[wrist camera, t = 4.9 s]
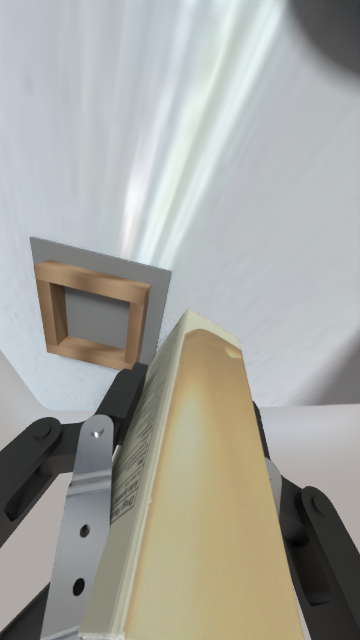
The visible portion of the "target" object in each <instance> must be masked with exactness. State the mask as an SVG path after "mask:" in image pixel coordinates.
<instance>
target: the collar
mask: <svg viewBox="0 0 360 640" xmlns="http://www.w3.org/2000/svg"><path fill="white" fill-rule="evenodd" d="M34 271H35V278H36V284H37V290H38V297H39V303H40V309H41V316H42V322H43V328H44V334H45V341H46V347H47V352H48V353H53V354H57V355H61V356H65V357H69V358H73V359H77V360H82V361H86V362H90V363H94V364H98V365H102V366H106V367H111V368H115V369H119V370H123V369H124V368H126V369H130V370H132V368H133V366H134V364H135V362H139V361H140V355H141V348H142V342H143V335H144V328H145V322H146V315H147V308H148V302H149V295H150V288H151V284H147V283H143V282H138V281H134V280H130V279H126V278H122V277H118V276H114V275H110V274H106V273H102V272H98V271H94V270H90V269H86V268H82V267H78V266H74V265H70V264H66V263H61V262H57V261H53V260H47V261H44V262H41V263H38V264H35V265H34ZM64 286H67V287H71V288H76V289H80V290H84V291H88V292H92V293H96V294H100V295H104V296H108V297H112V298H116V299H120V300H124V301H128V302H130V310H129V320H128V331H127V341H126V349H122V348H118V347H114V346H109V345H105V344H101V343H97V342H93V341H89V340H85V339H81V338H76V337H72V336H68V325H67V313H66V301H65V289H64Z"/></svg>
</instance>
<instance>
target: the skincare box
mask: <svg viewBox="0 0 360 640" xmlns="http://www.w3.org/2000/svg"><path fill="white" fill-rule="evenodd" d="M78 636H81V637H83V638H84V640H304V635H303V631H302V626H301V622H300V617H299V612H298V607H297V603H296V598H295V593H294V589H293V584H292V580H291V575H290V571H289V566H288V562H287V557H286V553H285V548H284V544H283V539H282V534H281V530H280V525H279V521H278V516H277V511H276V507H275V503H274V498H273V494H272V489H271V484H270V480H269V475H268V470H267V466H266V461H265V457H264V452H263V448H262V443H261V439H260V434H259V429H258V425H257V420H256V415H255V411H254V406H253V402H252V397H251V392H250V388H249V384H248V379H247V374H246V370H245V366H244V361H243V356H242V351H241V347H240V342H239V338H238V337H237V336H235V335H233V334H232V333H230V332H228V331H227V330H225V329H224V328H222V327H220V326H219V325H217V324H215V323H214V322H212V321H211V320H209V319H207V318H205V317H204V316H202V315H200V314H198V313H197V312H195V311H193V310H191V309H187V310H186V311H185V313H184V314H183V315H182V317H181V318H180V320H179V321H178V322H177V324H176V325H175V327H174V328H173V330H172V331H171V332H170V334H169V335H168V337H167V339H166V340H165V342H164V343H163V345H162V346H161V348H160V349H159V351H158V353H157V354H156V356H155V358H154V359H153V361H152V363H151V364H150V367H149V369H148V372H147V375H146V380H145V385H144V388H143V391H142V394H141V397H140V399H139V402H138V405H137V407H136V410H135V412H134V415H133V418H132V420H131V423H130V426H129V428H128V431H127V434H126V436H125V439H124V441H123V444H122V446H120V445H119V447H118V449H117V452H116V454H115V457H114V459H113V462H112V475H111V502H110V527H109V534H108V537H107V541H106V544H105V547H104V550H103V554H102V557H101V560H100V563H99V566H98V570H97V573H96V576H95V579H94V582H93V586H92V589H91V592H90V595H89V599H88V602H87V605H86V608H85V611H84V615H83V618H82V621H81V624H80V628H79V633H78Z"/></svg>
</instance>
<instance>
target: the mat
mask: <svg viewBox="0 0 360 640" xmlns="http://www.w3.org/2000/svg"><path fill="white" fill-rule="evenodd" d="M30 243H31V249H32V256H33V262H34V265H35V264H38V263H41V262H44V261H47V260H53V261H57V262H61V263H66V264H70V265H74V266H78V267H82V268H86V269H90V270H94V271H98V272H102V273H106V274H110V275H114V276H118V277H122V278H126V279H130V280H134V281H138V282H143V283H147V284H151V288H150V295H149V302H148V308H147V315H146V322H145V328H144V335H143V342H142V348H141V355H140V361H139V362H140V363H143V364H147V365H148V368H147V372H148V369H149V367H150V364H151V363H152V361H153V359H154V358H155V353H156V348H157V343H158V338H159V333H160V328H161V323H162V317H163V312H164V307H165V302H166V297H167V292H168V287H169V282H170V277H171V272H172V271H169V270H165V269H161V268H157V267H153V266H149V265H145V264H141V263H137V262H133V261H128V260H124V259H120V258H116V257H112V256H108V255H104V254H100V253H96V252H92V251H88V250H84V249H80V248H76V247H72V246H68V245H64V244H60V243H56V242H52V241H48V240H44V239H40V238H36V237H30ZM64 289H65V301H66V313H67V325H68V336H72V337H76V338H81V339H85V340H89V341H93V342H97V343H101V344H105V345H109V346H114V347H118V348H122V349H126V341H127V331H128V320H129V310H130V302H128V301H124V300H120V299H116V298H112V297H108V296H104V295H100V294H96V293H92V292H88V291H84V290H80V289H76V288H71V287H67V286H64Z"/></svg>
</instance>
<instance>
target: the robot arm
mask: <svg viewBox="0 0 360 640" xmlns="http://www.w3.org/2000/svg"><path fill="white" fill-rule="evenodd" d="M147 368H148V365H147V364H143V363H140V362H135V364H134V366H133V368H132V370H130V369H126V368H124V369H123V370H122V371H120V372H119V373H118V374H117V376H116V377H115V379H114V381H113V383H112V385H111V386H110V388H109V390H108V392H107V393H106V395H105V397H104V399H103V400H102V402H101V404H100V406H99V408H98V409H97V411H96V413H95V414H94V415H93V416H92V417H90V418H89V419H87V420H86V421H83V422H80V423H73V424H61V423H60V422H59V420H57V419H55V418H53V417H46V418H41V419H39V420H37V421H35V422H33V423H32V424H31V425H29V426H28V427H27V428H26V429H25V430H24V431H23V432H22V433H21V434H19V435H18V436H17V437H16V438H15V439H14V440H13V441H12V442H10V443H9V444H8V445H7V446H6V447H5V448H4V449H2V450H1V451H0V548H1V547H2V545H3V544H4V543H5V542H6V540H7V539H8V538H9V537H10V535H11V534H12V533H13V532H14V530H15V529H16V528H17V526H18V525H19V524H20V523H21V522H22V520H23V519H24V518H25V516H26V515H27V514H28V513H29V511H30V510H31V509H32V507H33V506H34V505H35V504H36V503H37V501H38V500H39V499H40V498H41V496H42V495H43V494H44V493H45V491H46V490H47V489H48V488H49V486H50V485H51V484H52V482H53V481H54V480H55V479H56V477H57V476H58V475H59V474H61V473H68V472H73V477H72V481H71V483H70V485H69V487H68V491H67V495H66V501H65V506H64V512H63V517H62V523H61V528H60V533H59V539H58V544H57V550H56V555H55V561H54V566H53V572H52V577H51V582H49V584H48V585H46V586H45V588H44V589H43V590H42V591H41V592H40V593H39V594H38V595H37V596H36V597H35V598H34V599H33V600H32V601H31V602H30V603H29V604H28V605H27V606H26V607H25V608H24V609H23V610H22V611H21V612H20V613H19V614H18V615H17V616H16V617H15V618H14V619H13V620H12V621H11V622H10V623H9V624H8V625H7V626H6V627H5V628H4V629H3V630H2V631H1V632H0V640H84V638H83V637H81V636H78V633H79V628H80V624H81V621H82V618H83V615H84V611H85V608H86V605H87V602H88V599H89V595H90V592H91V589H92V586H93V582H94V579H95V576H96V573H97V570H98V566H99V563H100V560H101V557H102V554H103V550H104V547H105V544H106V541H107V537H108V534H109V527H110V502H111V475H112V456H113V454H114V451H115V449H116V446H117V445H120V446H122V444H123V441H124V439H125V436H126V434H127V431H128V428H129V426H130V423H131V420H132V418H133V415H134V412H135V410H136V407H137V405H138V402H139V399H140V397H141V394H142V391H143V388H144V385H145V380H146V374H147ZM252 402H253V406H254V411H255V415H256V420H257V425H258V429H259V434H260V439H261V443H262V448H263V452H264V457H265V461H266V466H267V470H268V475H269V480H270V484H271V489H272V494H273V498H274V503H275V507H276V511H277V516H278V521H279V525H280V530H281V534H282V539H283V544H284V548H285V553H286V557H287V562H288V566H289V571H290V575H291V579H292V582H293V585H294V588H295V591H296V595H297V597H298V601H299V604H300V607H301V609H302V613H303V615H304V619H305V621H306V625H307V628H308V630H309V634H310V637H311V640H360V554H359V552H358V550H357V548H356V546H355V544H354V543H353V541H352V539H351V537H350V535H349V533H348V532H347V530H346V528H345V526H344V524H343V522H342V521H341V519H340V517H339V515H338V513H337V511H336V510H335V508H334V506H333V505H332V503H331V501H330V500H329V499H328V497H327V496H326V495H325V494H324V493H323V492H321V491H320V490H318V489H317V488H315V487H311V486H307V487H305V488H303V489H301V488H300V487H298V486H296V485H295V484H293V483H292V482H290V481H289V480H287V479H285V478H284V477H283V476H282V475H281V474H280V472H279V470H278V469H277V467H276V466H275V464H274V463H273V462H271V459H270V456H269V452H268V447H267V443H266V438H265V434H264V430H263V425H262V421H261V416H260V412H259V409H258V407H257V406H256V404H255V402H254V401H252Z"/></svg>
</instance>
